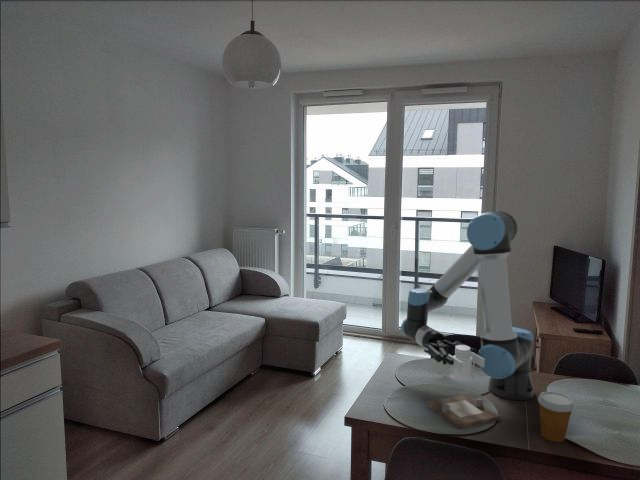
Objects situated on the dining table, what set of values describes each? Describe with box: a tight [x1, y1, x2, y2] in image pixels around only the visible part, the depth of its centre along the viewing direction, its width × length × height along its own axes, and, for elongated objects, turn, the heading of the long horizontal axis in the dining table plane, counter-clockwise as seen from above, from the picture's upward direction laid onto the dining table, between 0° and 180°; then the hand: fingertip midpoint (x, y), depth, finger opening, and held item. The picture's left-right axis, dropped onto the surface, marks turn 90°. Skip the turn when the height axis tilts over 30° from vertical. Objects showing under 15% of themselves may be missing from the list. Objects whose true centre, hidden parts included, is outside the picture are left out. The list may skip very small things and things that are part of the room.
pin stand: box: [427, 394, 501, 429], centre depth 155 cm, size 16×16×3 cm
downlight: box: [449, 344, 476, 382], centre depth 153 cm, size 8×7×10 cm
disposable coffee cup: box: [537, 391, 575, 443], centre depth 140 cm, size 10×10×12 cm
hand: (472, 364), depth 148 cm, fingers closed on downlight, 8 cm apart
